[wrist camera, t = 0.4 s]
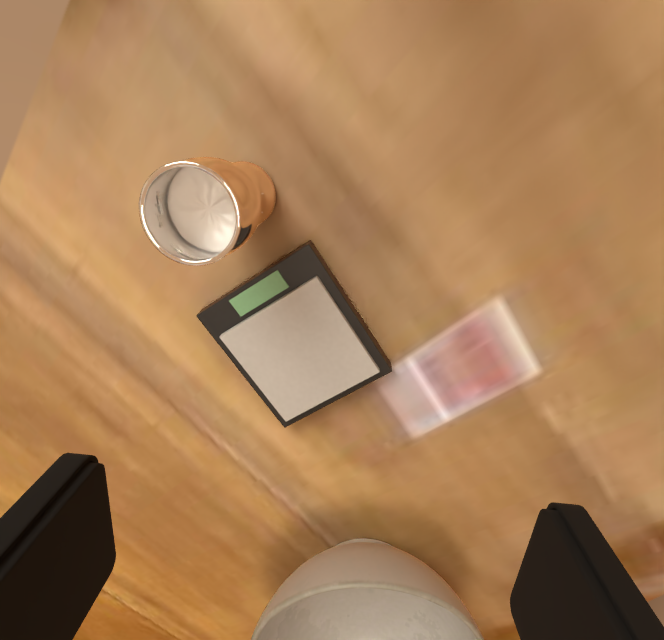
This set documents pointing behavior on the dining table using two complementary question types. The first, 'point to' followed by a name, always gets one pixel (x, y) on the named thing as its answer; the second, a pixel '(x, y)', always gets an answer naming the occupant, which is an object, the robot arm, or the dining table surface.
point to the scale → (296, 336)
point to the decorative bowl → (365, 599)
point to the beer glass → (204, 207)
